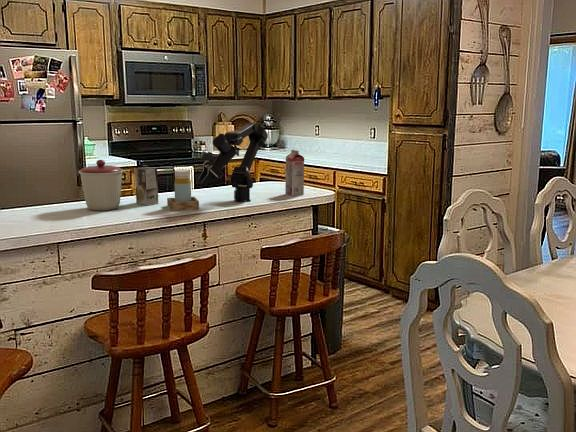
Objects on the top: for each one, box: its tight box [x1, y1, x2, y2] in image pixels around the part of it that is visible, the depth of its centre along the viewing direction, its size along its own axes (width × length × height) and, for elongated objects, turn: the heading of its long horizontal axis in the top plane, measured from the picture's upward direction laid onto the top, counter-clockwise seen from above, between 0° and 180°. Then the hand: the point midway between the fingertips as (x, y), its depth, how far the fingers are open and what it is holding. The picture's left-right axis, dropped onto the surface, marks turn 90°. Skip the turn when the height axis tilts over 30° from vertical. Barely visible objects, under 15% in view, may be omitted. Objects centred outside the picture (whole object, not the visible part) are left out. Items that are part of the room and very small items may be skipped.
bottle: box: [173, 169, 192, 202], centre depth 244 cm, size 7×7×15 cm
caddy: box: [166, 196, 200, 212], centre depth 245 cm, size 12×12×4 cm
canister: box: [78, 159, 124, 212], centre depth 239 cm, size 18×18×21 cm
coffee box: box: [133, 166, 159, 206], centre depth 252 cm, size 9×6×16 cm
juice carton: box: [284, 149, 305, 197], centre depth 278 cm, size 7×7×22 cm
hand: (200, 183), depth 246 cm, fingers open, 9 cm apart
